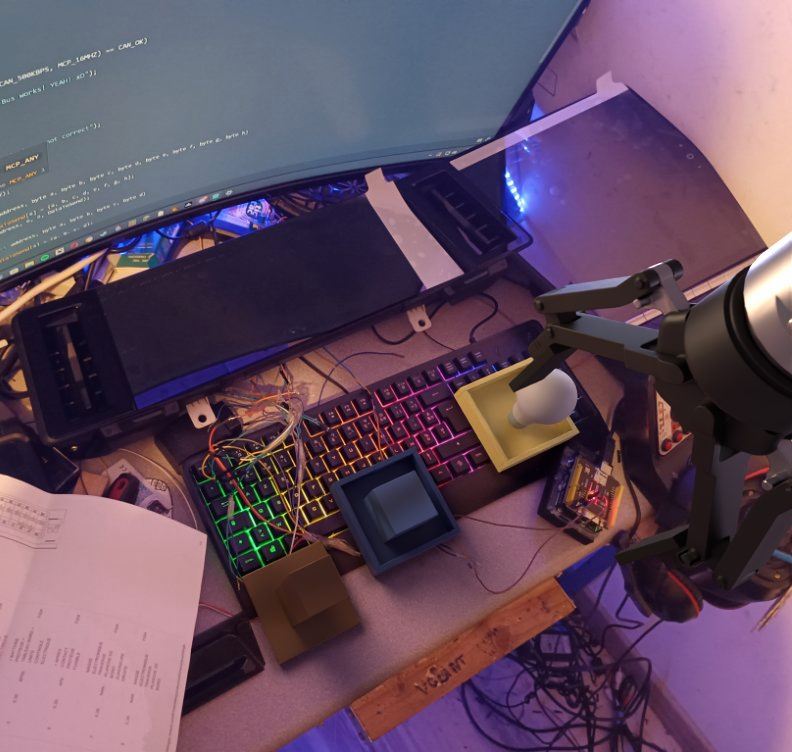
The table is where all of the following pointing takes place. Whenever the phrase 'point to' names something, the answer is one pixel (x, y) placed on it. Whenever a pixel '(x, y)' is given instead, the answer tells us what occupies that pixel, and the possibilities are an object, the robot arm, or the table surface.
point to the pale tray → (489, 420)
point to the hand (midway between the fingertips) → (576, 463)
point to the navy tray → (362, 527)
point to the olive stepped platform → (300, 601)
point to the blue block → (399, 506)
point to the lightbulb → (544, 401)
